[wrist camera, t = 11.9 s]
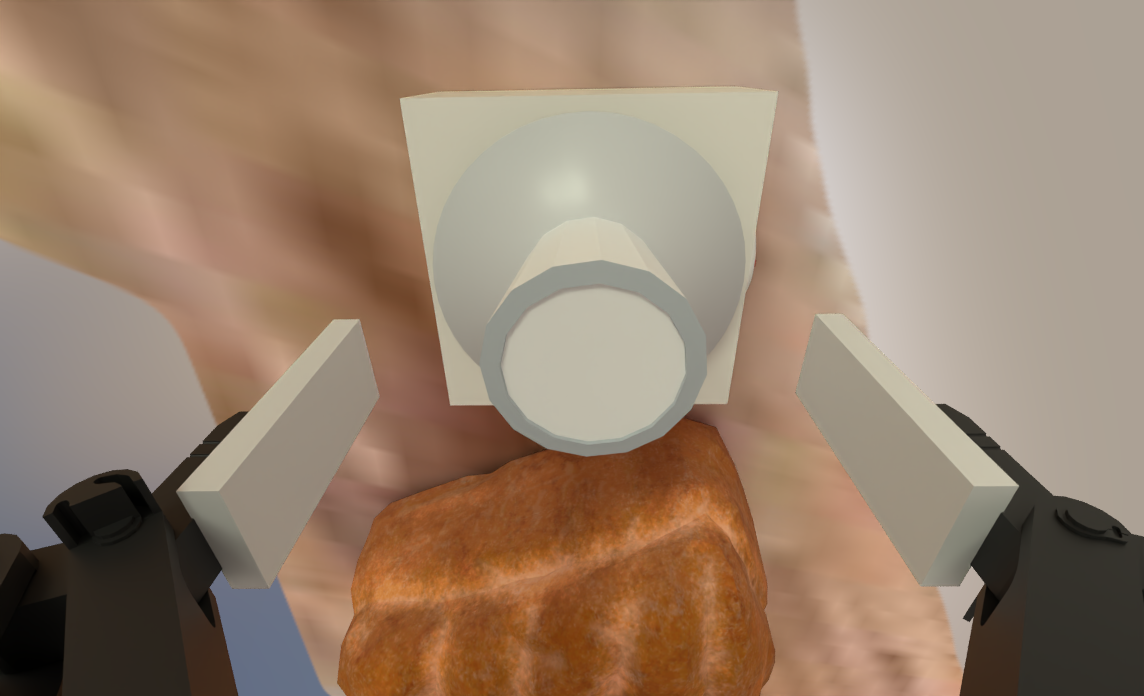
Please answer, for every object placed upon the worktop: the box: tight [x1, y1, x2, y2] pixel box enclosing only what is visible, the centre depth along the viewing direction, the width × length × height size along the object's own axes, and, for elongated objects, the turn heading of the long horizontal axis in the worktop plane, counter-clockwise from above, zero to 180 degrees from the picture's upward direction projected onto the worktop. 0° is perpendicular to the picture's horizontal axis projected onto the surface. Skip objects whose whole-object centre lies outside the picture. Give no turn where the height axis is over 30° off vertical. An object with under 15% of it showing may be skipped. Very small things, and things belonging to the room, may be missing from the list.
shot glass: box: [479, 217, 707, 457], centre depth 18 cm, size 7×7×7 cm
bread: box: [337, 418, 775, 696], centre depth 31 cm, size 14×26×16 cm, turn 112°
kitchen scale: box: [400, 86, 779, 405], centre depth 24 cm, size 15×14×7 cm
